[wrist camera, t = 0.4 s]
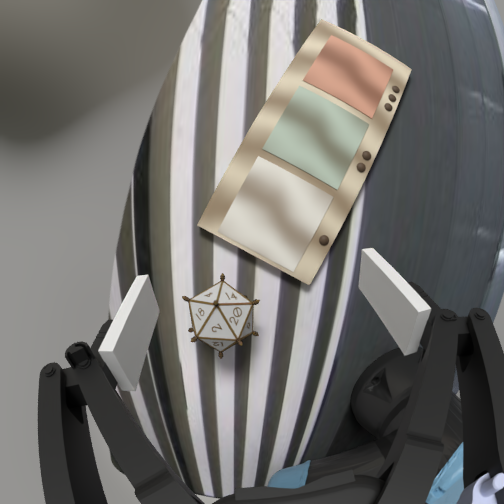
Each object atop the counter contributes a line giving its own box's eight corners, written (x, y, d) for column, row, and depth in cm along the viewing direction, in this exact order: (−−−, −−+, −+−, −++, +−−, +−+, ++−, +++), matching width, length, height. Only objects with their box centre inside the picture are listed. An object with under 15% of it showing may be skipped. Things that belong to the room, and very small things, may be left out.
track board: (307, 283, 34) (309, 285, 33) (199, 225, 34) (197, 225, 32) (408, 72, 30) (411, 69, 29) (320, 23, 30) (321, 18, 28)
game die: (223, 285, 38) (213, 246, 30) (273, 322, 35) (279, 292, 27) (179, 333, 35) (154, 307, 26) (229, 375, 32) (218, 365, 23)
